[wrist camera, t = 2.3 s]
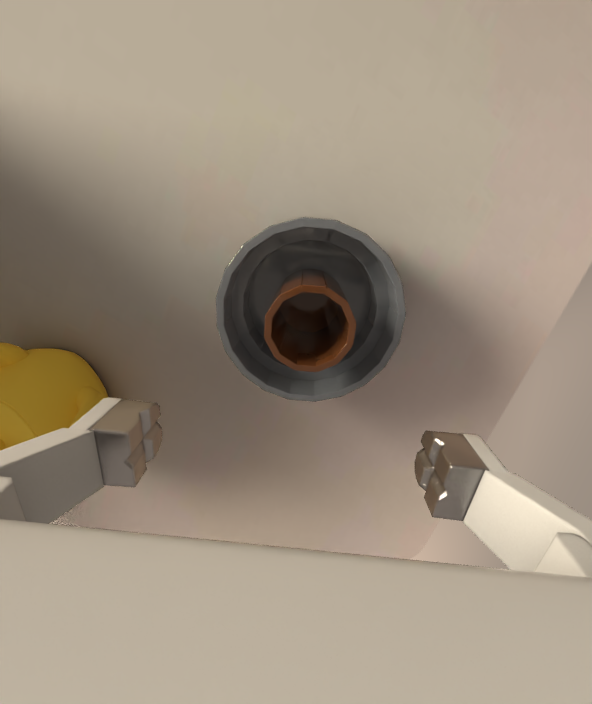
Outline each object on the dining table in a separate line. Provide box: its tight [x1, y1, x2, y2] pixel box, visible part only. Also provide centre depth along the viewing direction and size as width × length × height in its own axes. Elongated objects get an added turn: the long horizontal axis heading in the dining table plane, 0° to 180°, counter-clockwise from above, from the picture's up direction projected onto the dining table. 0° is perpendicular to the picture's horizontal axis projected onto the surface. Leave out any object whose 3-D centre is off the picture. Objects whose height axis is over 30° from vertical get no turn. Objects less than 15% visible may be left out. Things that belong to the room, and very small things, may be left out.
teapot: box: [0, 343, 108, 450], centre depth 29 cm, size 14×13×10 cm
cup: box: [264, 269, 357, 372], centre depth 25 cm, size 6×6×8 cm
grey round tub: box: [216, 217, 406, 402], centre depth 26 cm, size 14×14×6 cm
